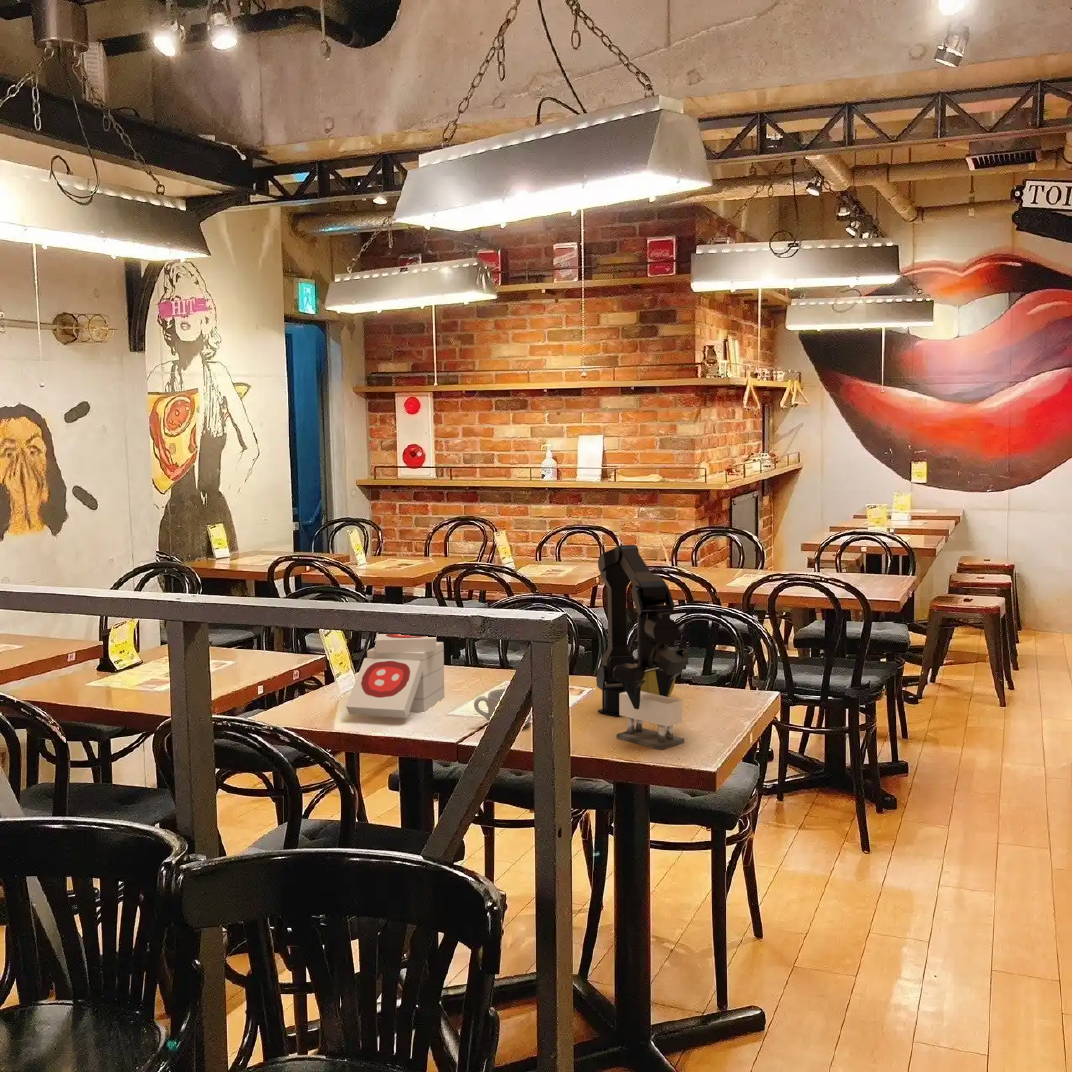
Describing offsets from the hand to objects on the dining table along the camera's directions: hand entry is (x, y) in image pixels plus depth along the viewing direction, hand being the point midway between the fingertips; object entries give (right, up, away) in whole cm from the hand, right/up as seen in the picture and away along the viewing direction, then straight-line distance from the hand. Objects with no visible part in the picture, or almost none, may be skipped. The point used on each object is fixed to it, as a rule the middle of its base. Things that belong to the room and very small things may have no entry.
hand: (650, 705), depth 251 cm
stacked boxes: (-60, -6, +31) cm, 67 cm away
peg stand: (0, -8, +1) cm, 8 cm away
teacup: (-33, -7, +14) cm, 36 cm away
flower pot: (+5, -4, +39) cm, 39 cm away
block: (0, -3, 0) cm, 3 cm away
